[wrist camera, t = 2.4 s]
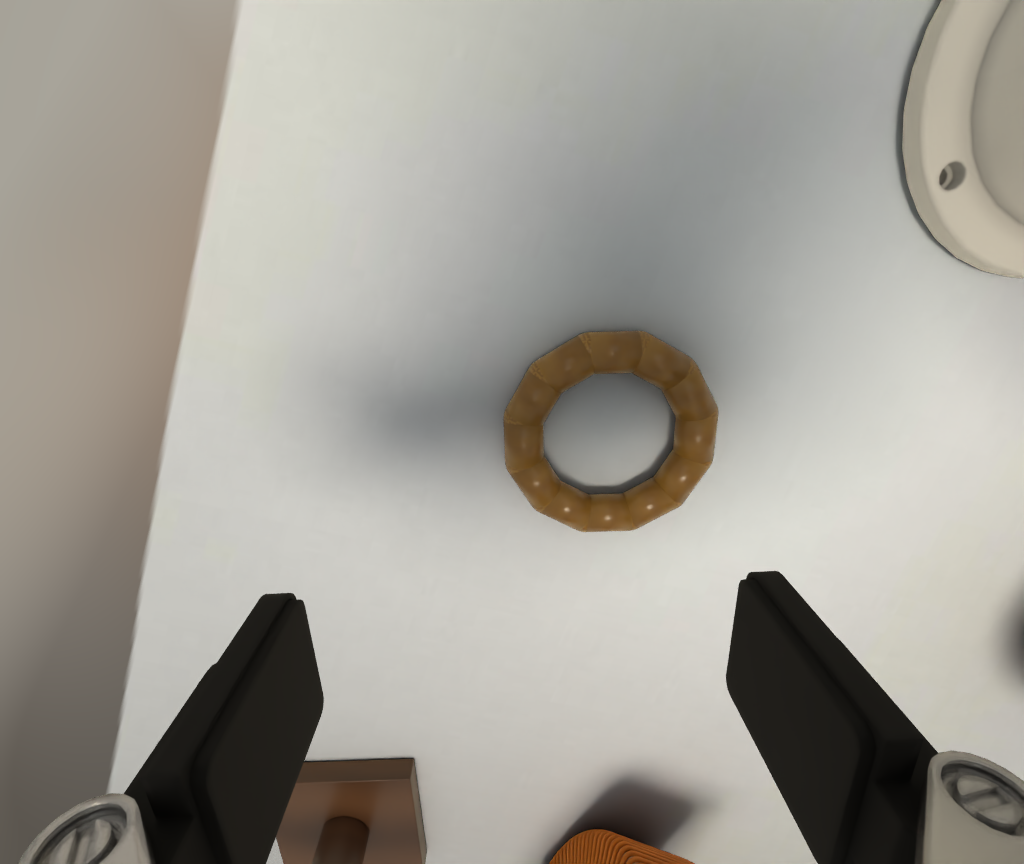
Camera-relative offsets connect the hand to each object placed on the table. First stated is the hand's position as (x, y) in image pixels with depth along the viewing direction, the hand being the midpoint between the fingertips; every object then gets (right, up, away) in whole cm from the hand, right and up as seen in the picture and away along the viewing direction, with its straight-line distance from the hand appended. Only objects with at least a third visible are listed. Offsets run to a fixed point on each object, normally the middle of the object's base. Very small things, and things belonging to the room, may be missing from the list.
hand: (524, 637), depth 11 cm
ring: (+4, +4, +10) cm, 11 cm away
